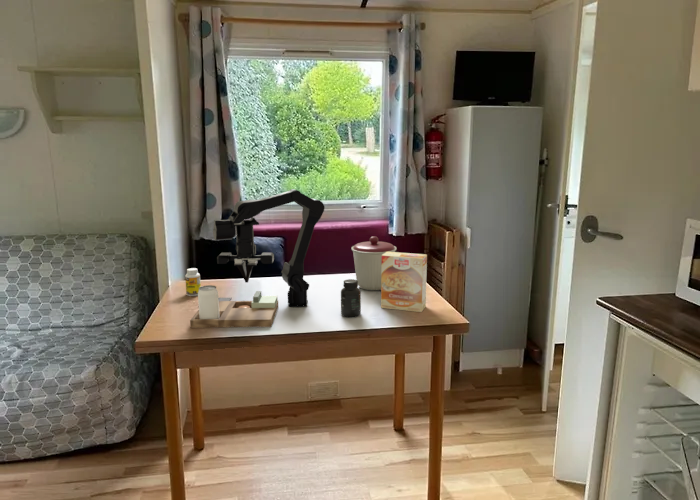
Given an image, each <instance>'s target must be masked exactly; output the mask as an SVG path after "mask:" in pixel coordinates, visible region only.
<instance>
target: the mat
mask: <svg viewBox="0 0 700 500" xmlns="http://www.w3.org/2000/svg"><path fill="white" fill-rule="evenodd" d="M218 299H219V301H230V300H231V301H232V300H233V299H232V297H218ZM198 308H199V305H198Z"/></svg>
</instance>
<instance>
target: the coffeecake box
mask: <svg viewBox="0 0 700 500" xmlns="http://www.w3.org/2000/svg"><path fill="white" fill-rule="evenodd" d="M427 263H428V254H424V253H412V252H411V253H410V252H399V251H395V252H386V253H384V254H383V255H382V263H381V290H380V291H381V292H380V308H381V309H388V310H389V309H390V310H397V311H399V310H400V311H406V312H408V311H409V312H415V313H422V312H423V310H424V309H426V306H427V273H428V272H427V270H428V268H427V267H428V264H427Z"/></svg>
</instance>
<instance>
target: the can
mask: <svg viewBox="0 0 700 500" xmlns="http://www.w3.org/2000/svg"><path fill="white" fill-rule="evenodd" d="M218 298H219V291H218V289H217V286H216V285H212V284H209V285H207V284H206V285H202V286H201V287H199V291H198V295H197V301H198V302H197V303H198V306H199V307H198V310H199V318H200V319H219V318H220V315H219V299H218Z"/></svg>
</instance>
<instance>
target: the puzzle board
mask: <svg viewBox="0 0 700 500" xmlns="http://www.w3.org/2000/svg"><path fill="white" fill-rule="evenodd" d="M252 301H253V300H231V301H219V315H220V318H219V319H200V318H199V309H198V310H197V311H196V312H195V314H194V315H193V316H192V317H191V319H190V320H189V325H190V326H189V327H190V329H199V328H200V329H202V328H203V329H207V328H213V329H214V328H271V327H272V326H273V323H274V321H275V317H276V315H277V312H278V309H279V300H278V301H277V304H276V306H275V308H252V307H251V303H252ZM240 306H250V308H238V307H240Z"/></svg>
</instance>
